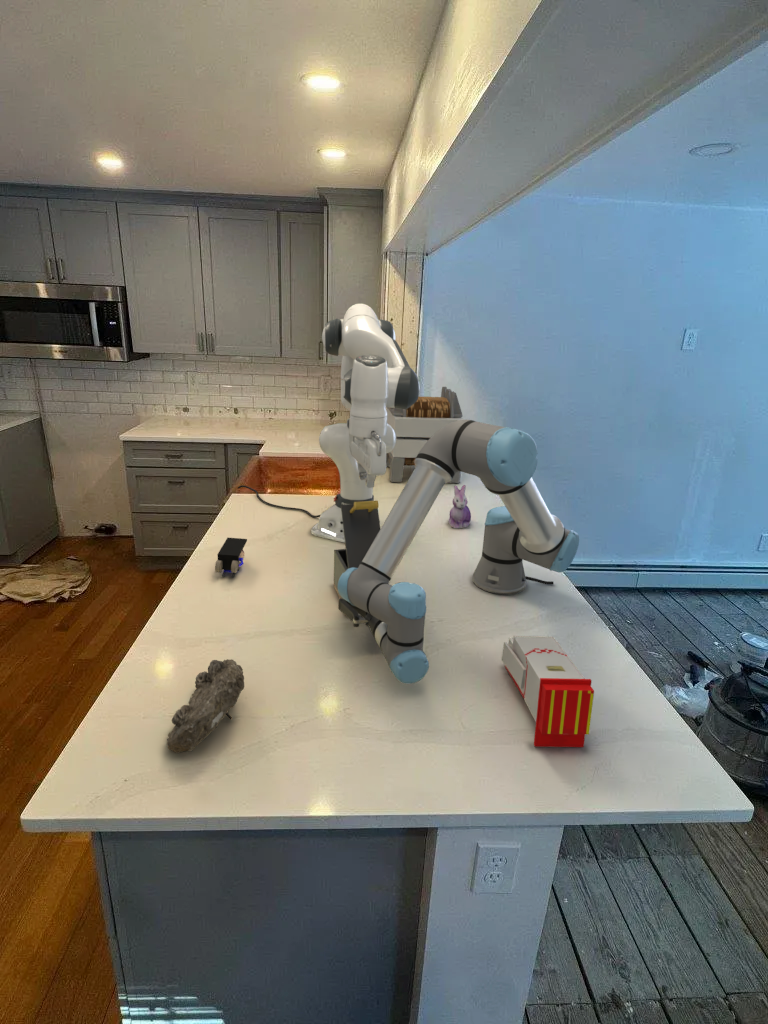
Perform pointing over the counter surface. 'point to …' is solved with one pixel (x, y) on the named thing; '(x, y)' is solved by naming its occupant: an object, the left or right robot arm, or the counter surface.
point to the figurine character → (230, 556)
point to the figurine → (459, 509)
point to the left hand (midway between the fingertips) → (366, 482)
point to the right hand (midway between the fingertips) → (363, 586)
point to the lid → (359, 529)
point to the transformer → (419, 429)
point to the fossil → (206, 705)
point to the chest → (339, 566)
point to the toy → (550, 690)
